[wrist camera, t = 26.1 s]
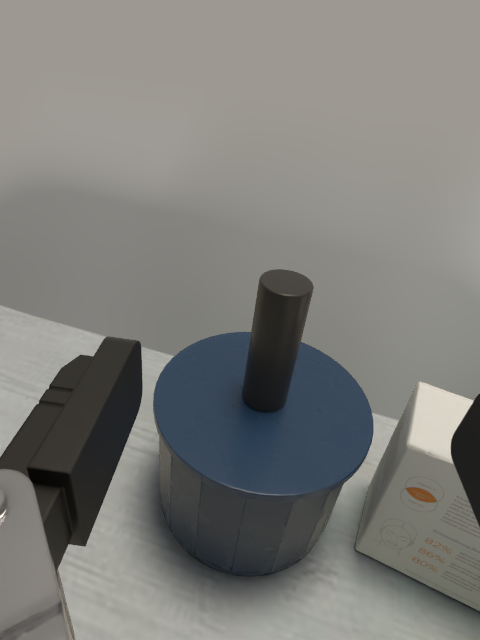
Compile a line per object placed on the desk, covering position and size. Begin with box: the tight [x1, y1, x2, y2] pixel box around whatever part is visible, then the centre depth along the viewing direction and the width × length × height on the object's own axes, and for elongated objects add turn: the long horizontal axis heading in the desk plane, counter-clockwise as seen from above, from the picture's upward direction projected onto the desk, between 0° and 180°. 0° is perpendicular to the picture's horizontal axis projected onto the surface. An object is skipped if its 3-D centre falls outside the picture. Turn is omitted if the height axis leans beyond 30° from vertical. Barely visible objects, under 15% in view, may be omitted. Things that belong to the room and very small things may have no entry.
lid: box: [153, 269, 373, 503], centre depth 22 cm, size 13×13×9 cm
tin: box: [159, 435, 344, 576], centre depth 26 cm, size 12×12×8 cm
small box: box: [355, 382, 480, 611], centre depth 24 cm, size 8×6×10 cm
